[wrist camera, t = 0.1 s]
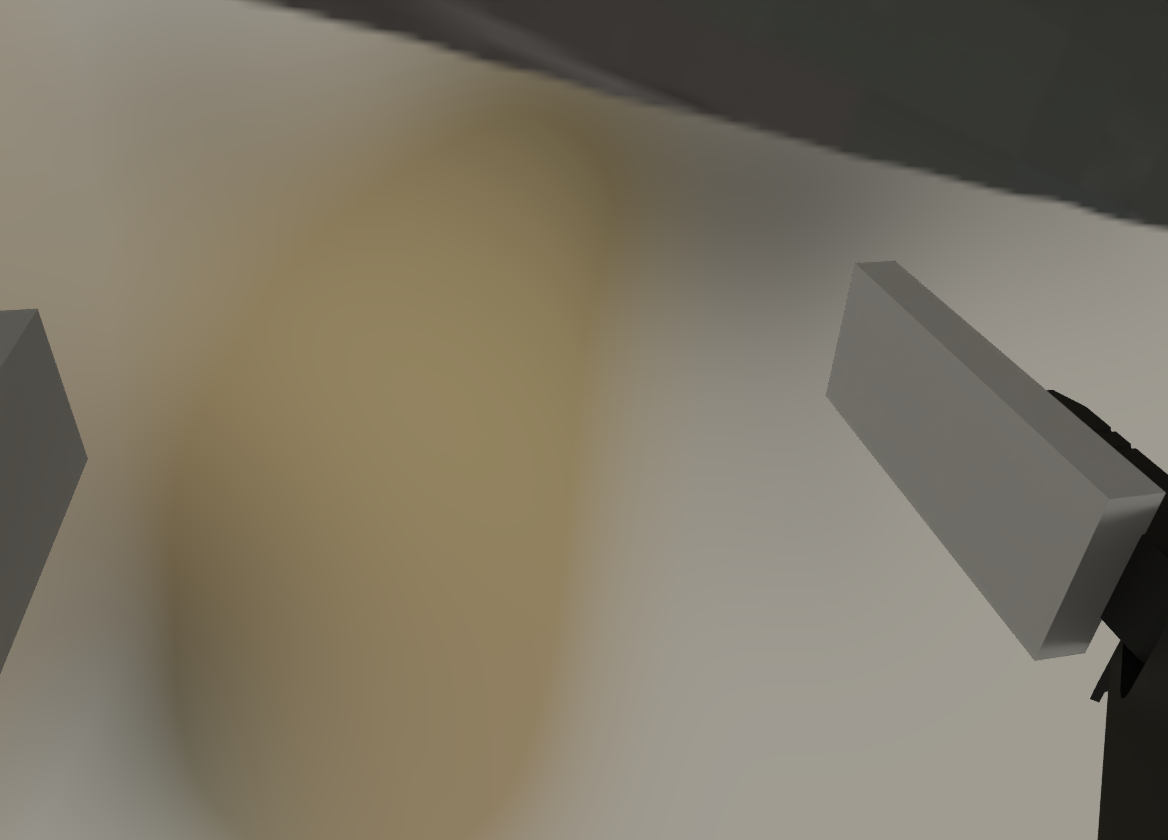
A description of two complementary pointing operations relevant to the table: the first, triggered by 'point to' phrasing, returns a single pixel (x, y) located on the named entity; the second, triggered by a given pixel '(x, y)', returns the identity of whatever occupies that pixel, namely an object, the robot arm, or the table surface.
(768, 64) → the table surface
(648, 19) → the table surface
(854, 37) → the table surface
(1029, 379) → the robot arm
